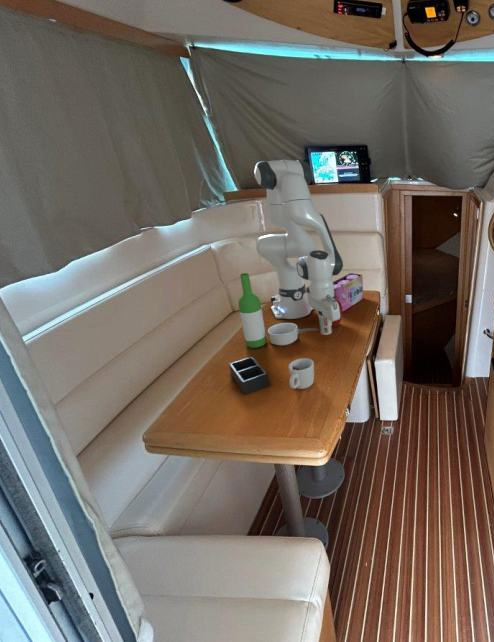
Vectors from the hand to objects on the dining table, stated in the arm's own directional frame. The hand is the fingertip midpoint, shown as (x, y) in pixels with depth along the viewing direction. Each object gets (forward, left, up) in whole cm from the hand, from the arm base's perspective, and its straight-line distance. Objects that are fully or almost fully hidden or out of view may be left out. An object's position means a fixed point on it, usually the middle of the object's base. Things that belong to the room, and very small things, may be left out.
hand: (325, 323), depth 148 cm
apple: (-11, +9, -8) cm, 16 cm away
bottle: (-15, -23, -8) cm, 29 cm away
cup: (+25, -22, -8) cm, 34 cm away
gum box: (-29, +27, -8) cm, 41 cm away
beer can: (0, 0, -5) cm, 5 cm away
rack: (+9, -34, -8) cm, 36 cm away
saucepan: (-8, -10, -8) cm, 16 cm away
